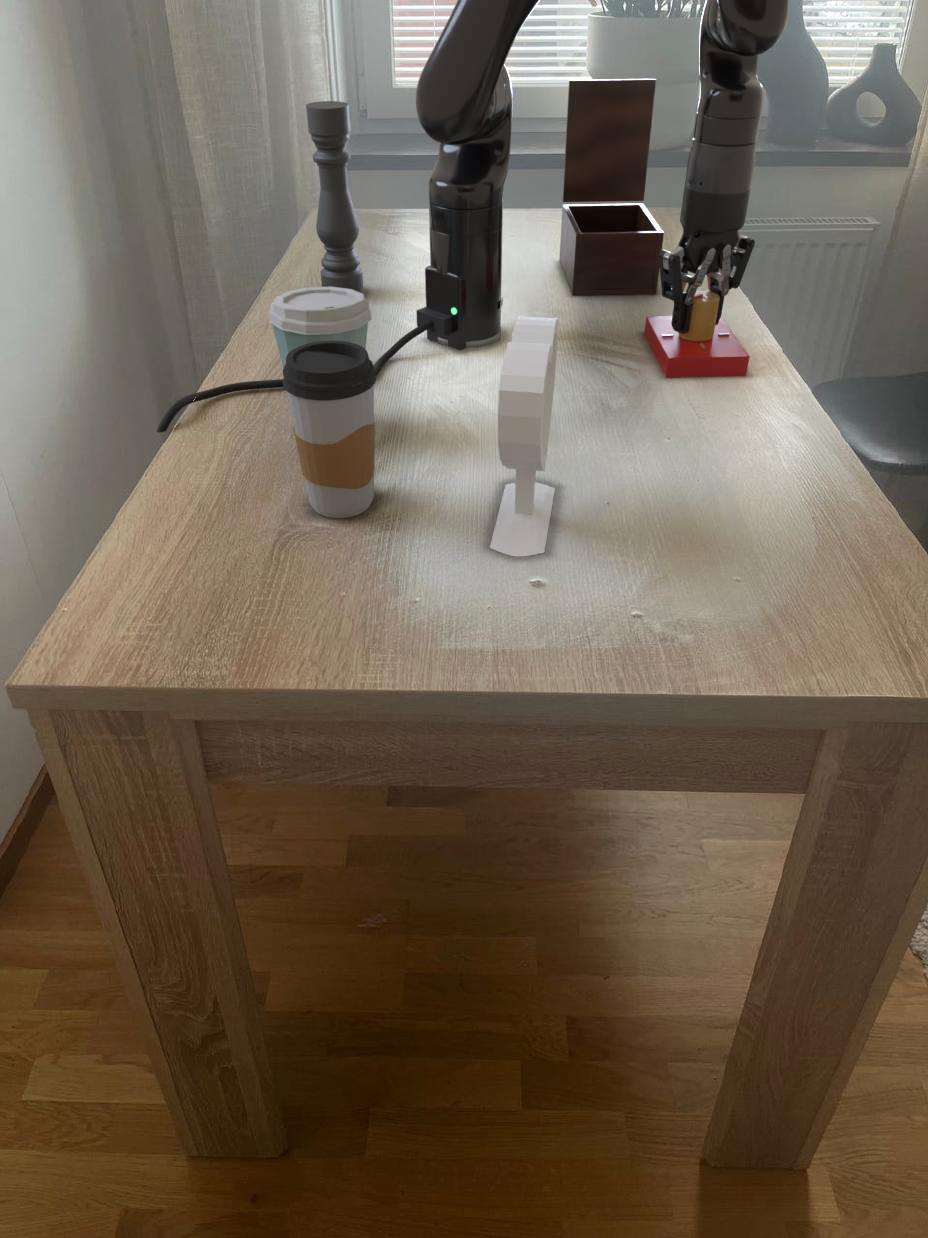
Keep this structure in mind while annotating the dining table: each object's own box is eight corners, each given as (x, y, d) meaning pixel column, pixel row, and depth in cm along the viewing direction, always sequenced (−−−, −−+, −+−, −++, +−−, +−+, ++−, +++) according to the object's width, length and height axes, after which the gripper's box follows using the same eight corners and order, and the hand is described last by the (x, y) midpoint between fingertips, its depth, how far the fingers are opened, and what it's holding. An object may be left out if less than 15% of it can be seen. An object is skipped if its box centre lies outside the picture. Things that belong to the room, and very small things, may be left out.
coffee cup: (342, 472, 95) (328, 331, 86) (401, 499, 91) (393, 353, 82) (281, 505, 90) (259, 359, 81) (341, 535, 86) (325, 384, 77)
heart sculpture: (542, 565, 82) (553, 373, 71) (486, 559, 83) (489, 369, 72) (556, 478, 94) (568, 303, 83) (508, 474, 95) (513, 300, 84)
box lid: (656, 79, 133) (649, 74, 137) (569, 80, 133) (565, 75, 137) (643, 200, 143) (637, 192, 147) (563, 202, 143) (558, 194, 147)
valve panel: (746, 375, 114) (750, 355, 112) (665, 377, 114) (668, 356, 112) (717, 333, 125) (720, 313, 123) (643, 334, 125) (646, 315, 123)
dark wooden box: (656, 294, 137) (664, 232, 131) (572, 295, 137) (576, 233, 131) (636, 261, 149) (642, 203, 144) (559, 262, 149) (562, 204, 143)
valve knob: (694, 326, 120) (700, 285, 117) (720, 336, 117) (727, 294, 114) (670, 333, 118) (676, 292, 115) (696, 344, 115) (703, 302, 112)
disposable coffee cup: (274, 415, 106) (255, 283, 97) (364, 400, 109) (355, 271, 100) (295, 457, 98) (277, 318, 89) (391, 439, 101) (384, 303, 92)
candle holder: (361, 300, 135) (347, 108, 120) (319, 300, 135) (300, 108, 120) (366, 286, 140) (353, 100, 125) (325, 286, 140) (307, 100, 125)
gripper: (694, 198, 101) (672, 348, 112) (786, 181, 107) (757, 325, 118) (649, 184, 106) (632, 329, 117) (739, 168, 112) (715, 308, 123)
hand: (695, 326), depth 117 cm, fingers closed on valve knob, 4 cm apart
